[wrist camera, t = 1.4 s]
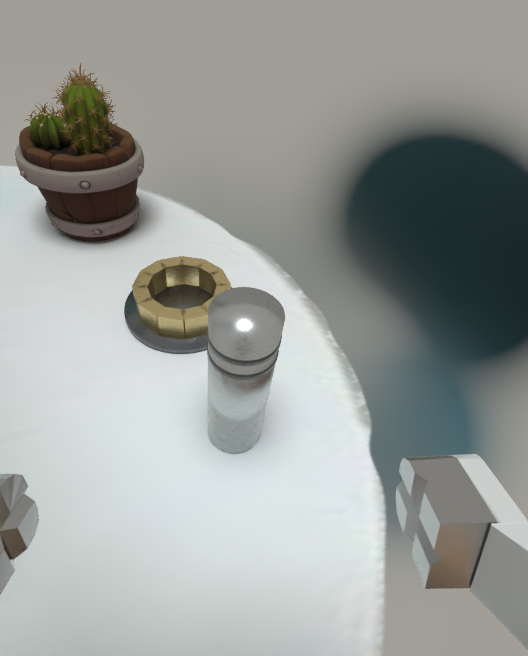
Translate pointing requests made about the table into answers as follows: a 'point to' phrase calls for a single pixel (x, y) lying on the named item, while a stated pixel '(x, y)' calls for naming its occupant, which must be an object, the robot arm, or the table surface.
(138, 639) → the table surface
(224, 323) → the piston
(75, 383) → the table surface
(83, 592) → the table surface
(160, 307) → the ring seat
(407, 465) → the robot arm
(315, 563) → the table surface
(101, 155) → the flowerpot
